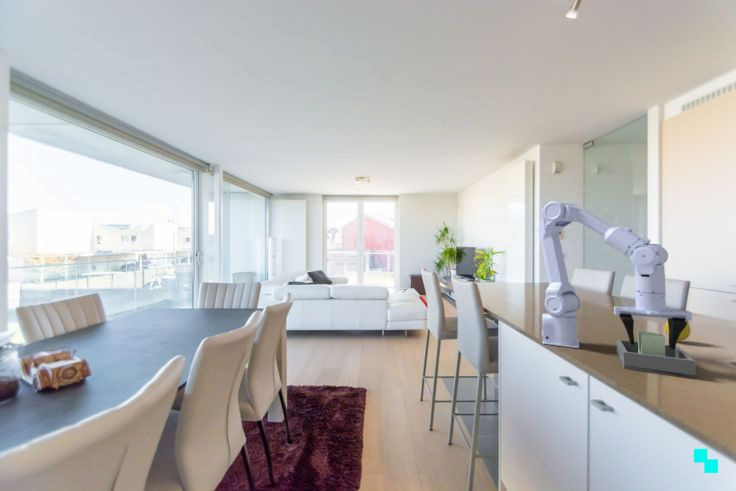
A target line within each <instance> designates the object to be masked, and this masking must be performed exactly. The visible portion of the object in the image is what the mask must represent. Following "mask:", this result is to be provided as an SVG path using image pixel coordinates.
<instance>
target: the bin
mask: <svg viewBox="0 0 736 491" xmlns="http://www.w3.org/2000/svg"><path fill="white" fill-rule="evenodd" d="M615 342H616V355H617V357H618V359H619V361H620V363H621V365H622V367H623V369H625V370H633V371H637V372H638V371H640V372H646V373H653V374H659V375H667V376H672V377H673V376H674V377H678V378H679V377H681V378H685V379H686V378H688V379H692V380H693V379H694V380H696V379H697V377H696V373H697V372H696V361H695V359H693V358H692V357H691V355H689V354H688V353H687V352H685V351H684V349H682V348H681V347H680V346H679V345H676V347H675V349H671V348H670V347H669V344H665V356H657V355H649V354H641V353H638V340H637V341H635V340H634V345H632V344H630V343H629V339H628V340H626V339H619V338H617V339H616V341H615Z"/></svg>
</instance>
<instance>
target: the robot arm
mask: <svg viewBox="0 0 736 491" xmlns="http://www.w3.org/2000/svg"><path fill="white" fill-rule="evenodd" d="M540 216H541V219H540V223H539V227H538V236H539V237H538V238H539V240H540V246H541V251H542V257H543V261H544V265H545V266H544V267H545V270H546V276H547V280H548V286H547V288H545V289H546V290H545V291H544V293H545V299H544V307H545V309H546V311H547V312H548V313H542V314H541V315H542V316H541V318H542V320H541V321H542V324H541V326H542V329H541V330H542V331H541V337H542V344H543V345H550V346H557V347H565V348H572V349H573V348H575V349H579V348H580V342H579V340H578V321H577V320H578V317H577V316H578V315H577V313H578V312H577V311H578V310H580V308H581V306H582V305H581V299H580V297H579V296H578V295H577V292H576V291H575V290H576V289H575V287H574V286H573V285H572V284H571V283H570V282H569V277H568V273H567V268H566V263H565V262H566V261H565V257H564V253H563V248H562V244H561V239H560V235H559V234H560V233H561V232H562V230H563V229H564V228H566V227H567V226H568V225H570V224H571V223H573V222H575V223H580V224H581V225H583V226H585V227H587V228H588V229H590V230H592V231H594V232H596V233H597V234H599V235H601V236H603V237H604V241H605V244H606V245H608V246H610V247H611V248H613V249H615V250H616V251H618V252H620V253H621V254H622V255H624V256H626V257H628V258H629V260H630V262H631V263H632V264H633V265H634V287H635V288H634V290H635V291H634V293H635V306H617V305H616V306H613V313H614V315H615V316H619V318H620V320H621V322H622V324H623V326H624V328H625V331H626V333H627V336H628V341H629V343H630V344H632V345H634V341H635V335H634V327H635V326H634V323H635V322H634V321H635V320H634V318H633V316H634V317H643V318H644V317H647V318H659V319H667V320H668V326H669V336H668V345H669V347H670V348H671V349H675V347H676V346H677V343H678V342H677V340H678V338H679V336H680V334H681V332H682V331H683V329H684V328H685V327H686V325H687V323H688V322H687V321H691V322H692V321H693V320H692V319H693V318H692V317H693V316H692V312H691V311H689V310H679V309H678V310H677V309H670V308H669V309H668V308H667V303H666V302H667V298H666V294H667V293H666V273H665V263H666V262H667V261H668V258H669V253H668V251H667V249H666V248H665V247H664V246H662V245H661V244H660V243H659V244H658V243H651V239H649V238H644V237H642V236H640V235H637V233H635V232H633V228H631V227H629V226H626V227H624V226H620V225H619V226H615V227H614V226H613V225H611V224H609V223H608V222H606V221H604V220H603V219H601V218H600V217H598V216H597V215H595V214H594V213H592V212H591V211H589V210H588V209H586V208H584V207H583V206H580V205H577V204H576V203H573V202H564V201H557V200H552V201H549V202H548V203H546V204H545V205H544V207H543V208H542V209H541V211H540Z"/></svg>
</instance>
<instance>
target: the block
mask: <svg viewBox="0 0 736 491" xmlns="http://www.w3.org/2000/svg"><path fill="white" fill-rule="evenodd" d="M637 342H638V353H641V354H649V355H657V356H665V345H666V337H665V336H664V335H663V334H662V333H661V332H654V331H645V330H637Z"/></svg>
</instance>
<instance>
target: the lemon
mask: <svg viewBox="0 0 736 491" xmlns="http://www.w3.org/2000/svg"><path fill="white" fill-rule="evenodd" d="M664 330H665V333H666V335H667V336H668V337H669V326H668V319H667V320H666V322H665V325H664ZM690 334H691V329H690V325H689V323H688V322H687V325H686V327H685V328H684V329H683V331H682V332H681V334H680V336H679V338H678V340H677V343H680V342H681V341H685V340H687V339H688V338H689V337H690Z"/></svg>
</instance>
